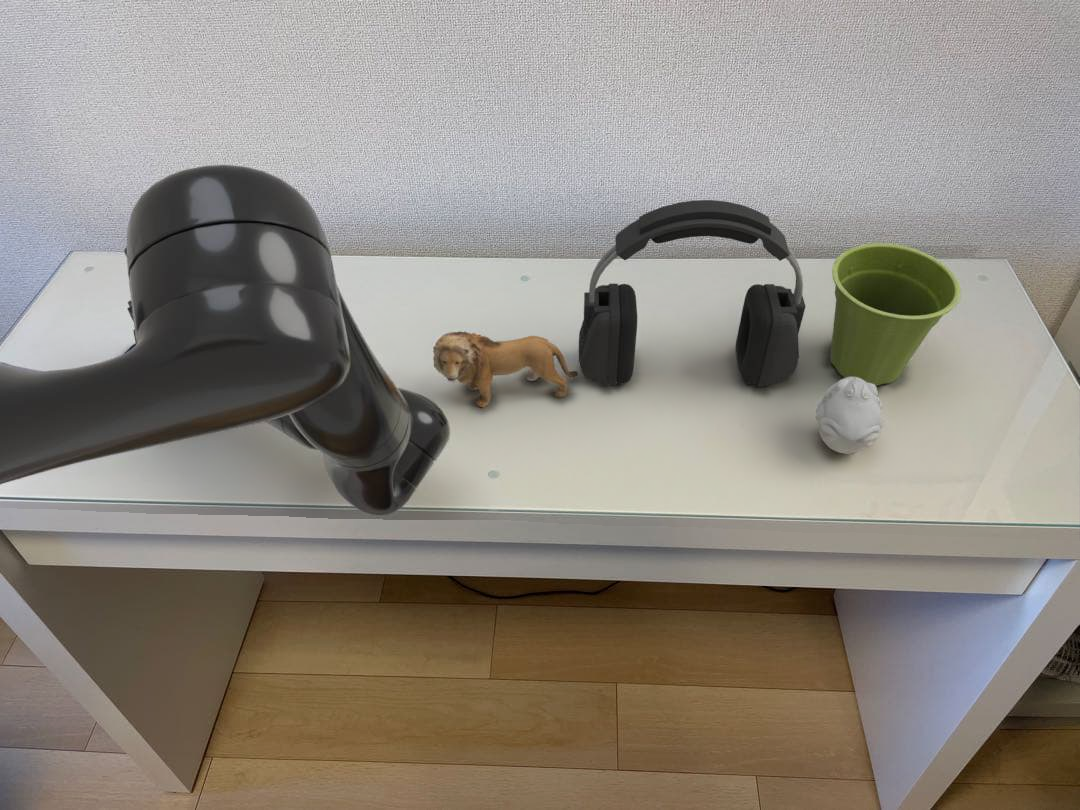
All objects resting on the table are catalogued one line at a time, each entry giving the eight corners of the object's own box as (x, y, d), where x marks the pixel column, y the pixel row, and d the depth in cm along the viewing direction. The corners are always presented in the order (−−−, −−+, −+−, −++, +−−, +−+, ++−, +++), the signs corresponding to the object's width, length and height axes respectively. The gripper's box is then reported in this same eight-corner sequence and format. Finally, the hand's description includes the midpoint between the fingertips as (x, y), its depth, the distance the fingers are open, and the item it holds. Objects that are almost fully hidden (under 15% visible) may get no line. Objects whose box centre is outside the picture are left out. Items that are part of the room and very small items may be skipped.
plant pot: (935, 408, 85) (974, 322, 77) (813, 399, 87) (839, 314, 78) (914, 330, 93) (947, 245, 85) (803, 323, 95) (826, 238, 86)
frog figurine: (872, 421, 84) (892, 370, 79) (874, 475, 80) (895, 425, 75) (809, 411, 85) (825, 360, 80) (807, 464, 81) (823, 413, 76)
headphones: (578, 389, 88) (581, 226, 74) (578, 347, 92) (581, 186, 78) (795, 391, 87) (841, 226, 73) (784, 349, 92) (826, 186, 77)
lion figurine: (445, 426, 85) (436, 360, 78) (434, 389, 88) (424, 323, 82) (585, 393, 88) (587, 327, 81) (569, 360, 91) (570, 293, 85)
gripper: (307, 299, 79) (189, 235, 86) (183, 385, 71) (66, 307, 78) (323, 358, 84) (211, 294, 91) (210, 444, 76) (98, 366, 84)
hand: (144, 300), depth 85 cm, fingers closed
